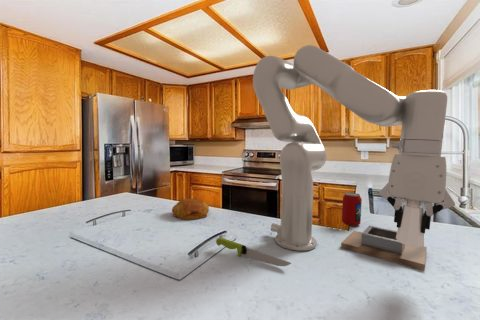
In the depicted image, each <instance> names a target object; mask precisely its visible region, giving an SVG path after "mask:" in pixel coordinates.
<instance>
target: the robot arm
mask: <svg viewBox="0 0 480 320" xmlns="http://www.w3.org/2000/svg"><path fill="white" fill-rule="evenodd" d="M311 85H315V86H316V87H318V88H319V89H320V90H322V91H323V92H324V93H326V94H327V95H329V96H330V97H331V98H333V99H334V100H336V102H338V103H340V104H341V105H342V106H343V107H345V108H347V110H349V111H351V112H352V113H353V114H355V115H356V116H357V117H359V118H361V119H362V120H363V121H365V122H367V123H369V124H373V125H376V126H379V127H383V128H384V127H385V128H386V127H387V128H389V127H397V126H401V130H400V137H399V139H400V140H399V141H396V142H392V144H391V149H396V150H397V151H398V153H394V154H393V158H392V161H391V164H390V165H391V166H390V171H389V176H388V182H387V183H386V184H385V186H384V187H382V189H380V191H379V192H378V194H379V195H380V196H381V197H382V198H383V199H384V200H386V201H387V202H388V203H389V204H390V205H391V206H392V208H393V210H394V217H393V218H394V219H393V223H395V224H396V228H397V229H398V228H399V227H400V226H401V219H402V209H403V202H404V199H405V200H407V199H409V200H416V201H421V203H422V202H424V207H425V208H424V215H423V218H422V227H421V232H422V233H424V235H425V234H426V230H430V228H431V221H432V216H433V215H435V214H437V213H439V212H441V211H442V210H446V209H450V208H453V207H455V206H456V203H455V201H454V200H453V197H451V194H450V193H449V192H448V190H447V188H446V187H447V159H446V156H443V155H442V149H443V141H444V140H443V139H444V133H445V125H446V124H445V123H446V113H447V106H448V95H447V93H446V92H444V91H442V90H439V89H437V90H436V89H428V90H426V89H425V90H419V91H413V92H410V93H408V94H407V95H406V96H398V95H396V94H394V93H393V92H392V91H389V90H388V89H386V88H385V87H383V86H381V85H380V84H378V83H376V82H374V81H373V80H371V79H369V78H368V77H366V76H364V75H362V74H361V73H359V72H358V71H356V70H355V69H354V68H353V67H352V66H351V65H349V64H348V63H346V62H344V61H342V60H340V59H339V58H337V57H335V56H334V55H331V54H330V53H328V52H327V51H325V50H323V49H322V48H320V47H318V46H315V45H311V44H309V45H304V46H302V47H300V48H298V50H297V51H296V52H295V55H294V57H293V63H291V62H289V61H287V60H285V59H283V58H282V57H278V56H275V55H266V56H264V57H262V58H261V59H259V61H257V64H256V66H255V68H254V71H253V76H252V86H253V90H254V93H255V96H256V98H257V99H258V102H259V104H260V107H261V108H262V111H263V113H264V116H265V118H266V120H267V122H268V125H269V127H270V129H271V133H272V134H273V136H274V138H276V140H277V141H281V142H288V143H287V144H286V145H285V146H284V147H283V148H282V149H281V151H280V154H279V167H280V174H281V201H280V202H281V204H280V205H281V207H280V208H281V209H280V224H278V223H274V222H273V223H271V225H270V231H272V232H276V233H277V234H276V235H275V239H274V240H275V243H276V244H277V245H278V246H280V247H282V248H284V249H286V250H292V251H298V252H299V251H301V252H302V251H311V250H313V249H315V248H316V247H317V245H318V244H317V240H316V238H314V237H313V236H312V235H313V233H312V232H313V211H314V210H313V209H314V208H313V207H314V180H313V176H312V172H314V171H317V170H320V169H321V168H322V167H324V165H325V164H326V161H327V152H326V149H325V147H324V144H323V142H322V140H321V138H320V136H319V134H318V132H317V130H316V127H315V126H314V124H313V123H312V121H311V120H310V119H309V118H308V117H307V116H306V115H303V114H299V113H296V112H295V111H294V110H293V109H292V106H291V105H290V103H289V100H288V98H287V96H286V94H285V93H284V92H283V91H282V89H283V90H289V91H290V90H295V89H300V88H304V87H307V86H311Z"/></svg>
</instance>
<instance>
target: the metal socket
mask: <svg viewBox="0 0 480 320" xmlns="http://www.w3.org/2000/svg"><path fill="white" fill-rule="evenodd" d="M396 235H397V230H393V229H390V228H389V229H388V228H384V227H378V226H373V225H368V226H367V227H366V229H364V231H363V232H362V240H361V245H362V246H366V247H370V248H374V249H378V250H382V251H386V252H390V253H393V254H397V255H402V252H403V249H404V247H405V244H402V243H400V242H398V241H397V239H396Z"/></svg>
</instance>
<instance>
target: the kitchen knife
mask: <svg viewBox="0 0 480 320" xmlns="http://www.w3.org/2000/svg"><path fill="white" fill-rule="evenodd" d="M215 243H216V245H217V246H221V245H222V246H223V247H225V248H227V249H229V250H236V251H237V257H245V258H248V259H251V260H252V259H253V260H255V261H259V262H263V263H265V264H270V265H274V266H277V267H288V266H290V265H291V264H292V262H291V261H287V260H285V259H281V258H279V257H276V256H273V255H270V254H267V253H264V252H261V251H258V250H255V249H252V248H249V247H247V246H246V245H243V244H241V243H239V242H236V241H232V240H229V239H226V238H223V237H218V238H217V239H216V241H215Z"/></svg>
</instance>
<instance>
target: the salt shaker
mask: <svg viewBox="0 0 480 320" xmlns="http://www.w3.org/2000/svg"><path fill="white" fill-rule="evenodd" d="M421 204H422V201H416V200H409V199H406V203H404V204H402V219H401V226H400V227H399V228H398V227H397V230H396V231H397V235H396V239H397V241H398V242H400V243H402V244H405V245H407V246H413V247H422V246H425V234H424V233H422V232H421V227H422V218H423V215H424V212H425V210H424V207H422V206H421Z"/></svg>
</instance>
